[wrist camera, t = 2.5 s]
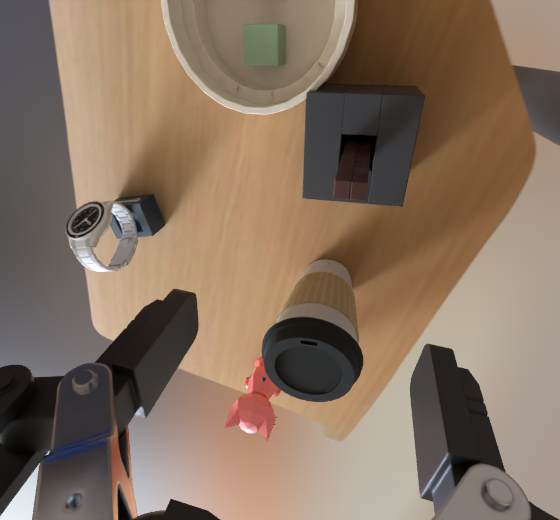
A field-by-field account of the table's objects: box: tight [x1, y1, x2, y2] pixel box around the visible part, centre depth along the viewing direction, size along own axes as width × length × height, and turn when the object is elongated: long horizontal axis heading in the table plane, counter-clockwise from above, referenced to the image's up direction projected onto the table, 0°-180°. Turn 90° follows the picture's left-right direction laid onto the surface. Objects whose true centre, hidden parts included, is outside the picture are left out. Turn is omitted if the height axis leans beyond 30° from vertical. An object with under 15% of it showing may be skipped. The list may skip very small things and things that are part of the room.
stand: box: [303, 84, 425, 207], centre depth 31 cm, size 9×9×7 cm
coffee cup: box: [262, 259, 363, 402], centre depth 38 cm, size 10×10×15 cm
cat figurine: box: [225, 358, 281, 441], centre depth 50 cm, size 7×7×12 cm
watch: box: [65, 194, 165, 272], centre depth 41 cm, size 6×8×11 cm
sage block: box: [243, 24, 286, 66], centre depth 30 cm, size 3×3×3 cm
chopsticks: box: [333, 134, 371, 201], centre depth 27 cm, size 2×1×16 cm, turn 90°
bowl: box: [161, 0, 358, 114], centre depth 28 cm, size 15×15×6 cm
